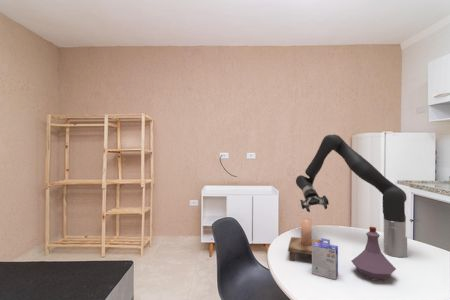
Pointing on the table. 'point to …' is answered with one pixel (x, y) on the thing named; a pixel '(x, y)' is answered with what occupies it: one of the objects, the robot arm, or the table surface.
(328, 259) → the ink cartridge box
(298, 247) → the walnut stand
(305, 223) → the peach cylinder
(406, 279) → the table surface
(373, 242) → the flask
